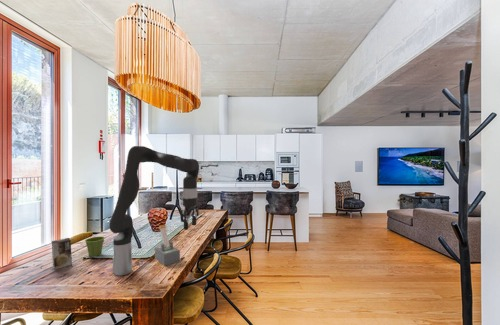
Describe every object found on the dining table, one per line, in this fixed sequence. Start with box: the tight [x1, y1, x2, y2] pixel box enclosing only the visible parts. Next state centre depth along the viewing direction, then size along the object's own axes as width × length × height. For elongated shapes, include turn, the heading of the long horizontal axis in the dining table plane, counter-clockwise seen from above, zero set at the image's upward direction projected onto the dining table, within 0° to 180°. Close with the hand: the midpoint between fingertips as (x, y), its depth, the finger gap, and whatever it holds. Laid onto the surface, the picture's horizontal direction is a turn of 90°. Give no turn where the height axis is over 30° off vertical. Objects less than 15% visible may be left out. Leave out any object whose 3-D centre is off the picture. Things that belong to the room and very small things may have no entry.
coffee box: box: [51, 237, 73, 270], centre depth 157 cm, size 9×6×16 cm
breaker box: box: [154, 241, 181, 267], centre depth 163 cm, size 16×10×11 cm, turn 40°
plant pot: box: [84, 236, 106, 258], centre depth 173 cm, size 12×12×11 cm
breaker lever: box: [158, 224, 170, 248], centre depth 165 cm, size 2×4×15 cm
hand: (190, 227), depth 133 cm, fingers open, 8 cm apart
